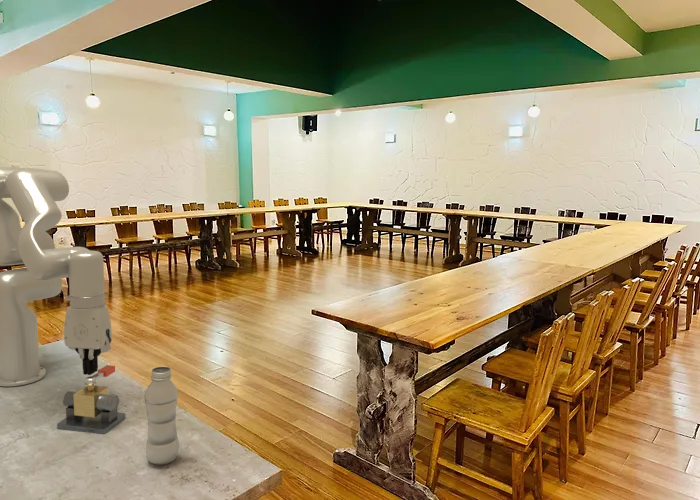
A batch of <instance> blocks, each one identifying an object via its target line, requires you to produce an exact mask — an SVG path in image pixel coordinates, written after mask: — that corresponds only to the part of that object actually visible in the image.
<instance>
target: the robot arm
mask: <svg viewBox="0 0 700 500" xmlns="http://www.w3.org/2000/svg"><path fill="white" fill-rule="evenodd" d="M69 192H70V185H69V183H68V180H67V179H66V177H65V176H64V175H63V174H62V173H61V172H60V171H57V170H52V169H51V170H48V169H43V168H42V169H41V168H30V167H29V168H27V167H11V166H10V167H9V166H0V266H15V265H24V266H25V267H24V268H15V269H10V270H9V269H8V270H4V271H1V272H0V387H19V386H24V385H29V384H32V383H36V382H38V381H39V380H41V379H43V378H44V377H45V376H47V370H46V368H44V367H43V366H40V353H39V351H40V350H39V332H38V318H37V314H36V312H34V310H33V309H32V308H30V307H29V306H28V305H27V304H28V303H29V302H34V301H39V300H45V299H49V298H54V297H56V296H58V295H59V294H60V293H61V291H62V289H63V279H67V278H68V288H69V295H67V296H66V301H68V302H69V306H67V308H66V312H65V314H64V315H65V317H64V325H63V326H64V328H63V342H64V345H65V346H66V347H68V349H69V350H72V351H76V353H77V354H78V355H79V358H80V360H82V362H81V363H82V374H83V375H87V376H92V374H93V375H94V373H95V374H96V372H98V370H99V369H98V368H99V364H98V363H99V360H98V357H99V356H100V355H102V354H103V353H108V352H110V351H111V350H112V346H111V343H112V340H113V337H112V336H113V333H112V324H111V323H112V322H111V317H110V312H109V307H108V305H106V297H105V294H106V293H105V272H104V271H105V270H104V269H105V268H104V267H105V265H104V256H103V254H102V253H101V252H100V251H97V250H90V249H88V248H87V247H84V246H70V247H69V246H68V247H58V248H56V245H55V242H54V239H53V238H52V236H51V235H50V234H49V233H48V232H47V231H50V230H51V229H53V228H54V227H55V226H57V225H58V224H59V222H60V221H61V220H62V212H61V211H62V210H61V209H60V208H59V206H58V204H57V202H61V201H65V200H66V199H67V197H68V196H69ZM3 199H11V200H12V203H13V204H14V206H15V208H16V209H14V208H13V207H12V206H11V205H10V204H9V203H7V202H6V200H3ZM16 210H17V211H18V213H17V211H16ZM19 216H20V217H21V219H22V220H23V222H24V225H23V226H21V220H20V217H19Z"/></svg>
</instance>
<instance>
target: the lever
mask: <svg viewBox="0 0 700 500" xmlns="http://www.w3.org/2000/svg"><path fill="white" fill-rule="evenodd" d="M115 372H116V365H111V364H110V365H109V364H106V365H104V366H103V367H101V368H99V369H98V370H97V373H96V372H95V374H93V375H89V376H87V377H85V378H84V385H86V386H88V385H93V384H94V385H95V384H97V381H99V380H101V379H102V378H107V377H109V376H110V375H112V374H114V373H115Z"/></svg>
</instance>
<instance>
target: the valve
mask: <svg viewBox="0 0 700 500" xmlns="http://www.w3.org/2000/svg"><path fill="white" fill-rule="evenodd" d="M62 404H63V406H64V407H65V418H63V419H62V420H61V421H59V422H58V423H56V429H58V430H65V431H73V432H83V433H93V434H99V435H100V434H102V435H106V434H107V433H108V432H110V430H113V428H115V427H116V426H117V425H118V424H119V423H120V422H122V421H123V420H124V419H126V412H119V411H118V407H119V405H120V397H119V395H114V394H109V386H101V385H95V384H93V385H86V386H84V387H83V388H81V389H80V390H78V391H76V390H68V391H67V392H65V393H64V396H63V399H62Z"/></svg>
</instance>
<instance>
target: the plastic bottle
mask: <svg viewBox="0 0 700 500" xmlns="http://www.w3.org/2000/svg"><path fill="white" fill-rule="evenodd" d="M171 373H172V369H171V367H169V366H157V367H153V368H152V370H151V377H150V380H151V382H150V384H149V385H148V386H147V388H146V389H145V392H144V395H143V397H144V403H145V408H146V414H147V423H148V425H147V426H148V427H147V441H146V446H145V455H146V459H147V460H148V461H149V462H150V463H151V464H153V465H157V466H159V465H160V466H161V465H166V464H169V463H171V462H173V461H175V460H176V458H177V457H178V455H179V451H180V441H179V437H178V431H177V423H176V421H177V420H176V419H177V418H176V416H177V405H178V397H179V391H178V388H177V386H176V385H175V384H174V382H173V381H172V380H171V379H172V374H171Z"/></svg>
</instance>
